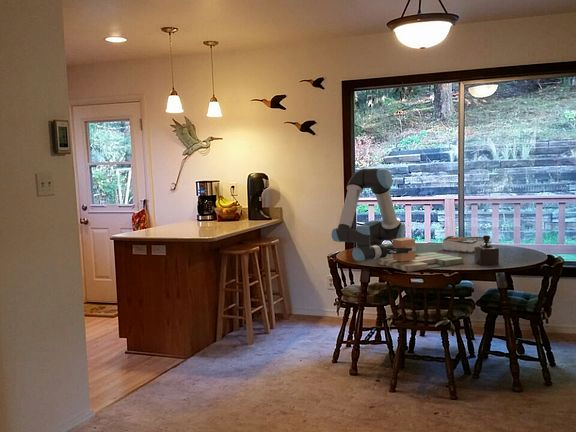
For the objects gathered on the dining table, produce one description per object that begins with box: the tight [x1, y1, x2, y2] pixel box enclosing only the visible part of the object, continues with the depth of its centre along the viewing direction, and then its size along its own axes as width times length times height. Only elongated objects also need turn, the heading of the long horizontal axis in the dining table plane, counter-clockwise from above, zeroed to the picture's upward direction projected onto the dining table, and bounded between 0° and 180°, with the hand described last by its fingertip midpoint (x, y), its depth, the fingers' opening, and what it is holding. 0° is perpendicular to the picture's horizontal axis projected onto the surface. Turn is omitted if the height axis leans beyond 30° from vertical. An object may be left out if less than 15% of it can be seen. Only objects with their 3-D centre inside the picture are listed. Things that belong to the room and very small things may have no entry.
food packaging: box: [438, 235, 485, 253], centre depth 371 cm, size 25×8×23 cm
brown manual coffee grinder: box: [473, 234, 500, 266], centre depth 318 cm, size 16×11×18 cm
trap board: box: [378, 251, 464, 273], centre depth 329 cm, size 28×40×3 cm
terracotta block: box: [391, 237, 416, 262], centre depth 322 cm, size 8×10×12 cm
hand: (410, 247), depth 324 cm, fingers closed on terracotta block, 8 cm apart
